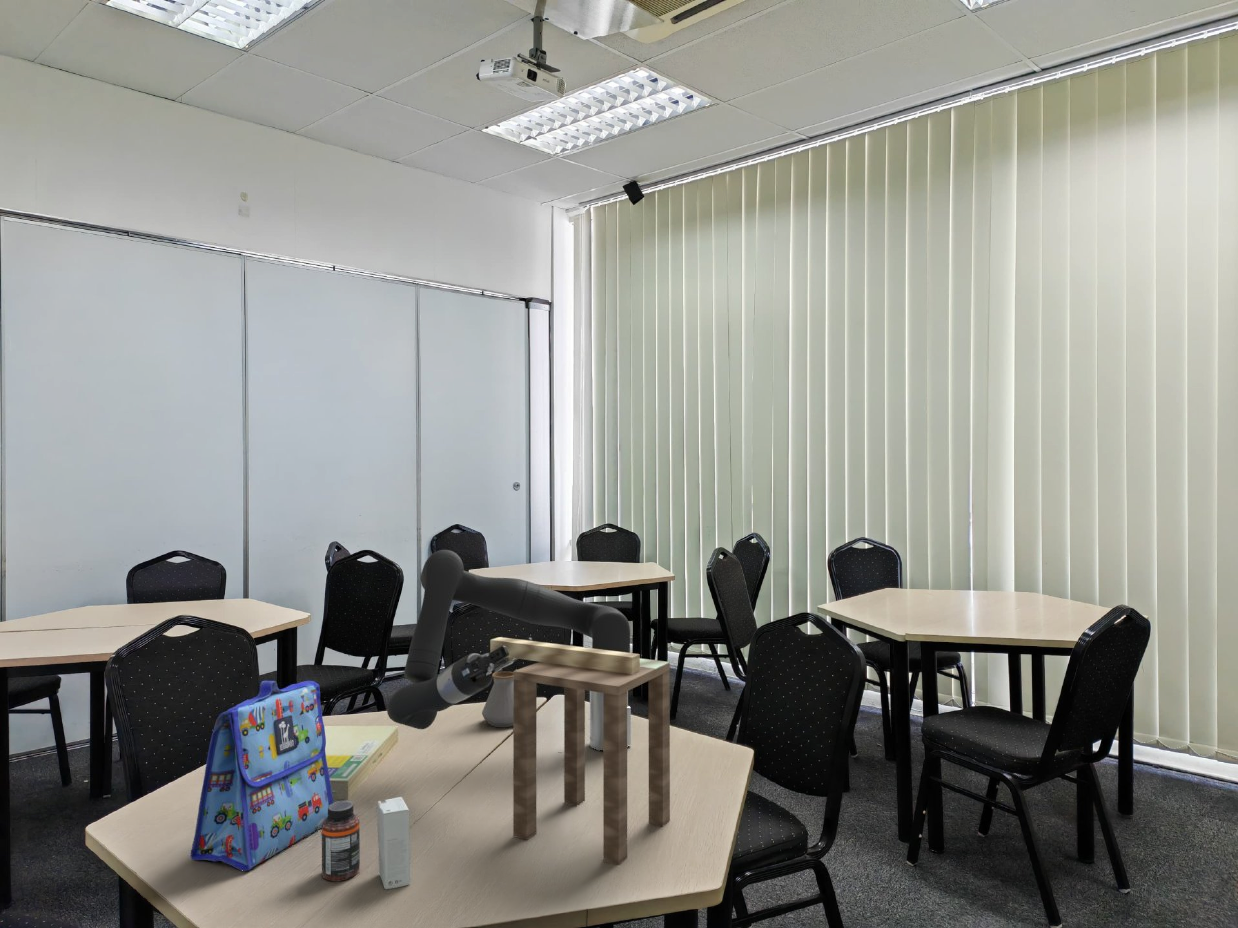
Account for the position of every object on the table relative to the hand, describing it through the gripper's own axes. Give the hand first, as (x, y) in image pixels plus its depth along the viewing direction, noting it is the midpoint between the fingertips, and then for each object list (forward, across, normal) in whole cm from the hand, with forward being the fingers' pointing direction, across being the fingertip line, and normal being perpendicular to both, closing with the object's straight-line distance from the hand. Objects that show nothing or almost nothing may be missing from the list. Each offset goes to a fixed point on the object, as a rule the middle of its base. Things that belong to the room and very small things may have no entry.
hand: (519, 645), depth 158 cm
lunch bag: (-44, -33, +12) cm, 56 cm away
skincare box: (-18, -32, +27) cm, 46 cm away
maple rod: (+8, 0, +7) cm, 10 cm away
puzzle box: (-62, -3, +2) cm, 62 cm away
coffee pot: (-45, +46, +12) cm, 65 cm away
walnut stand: (-2, 0, +36) cm, 36 cm away
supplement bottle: (-26, -35, +22) cm, 49 cm away
